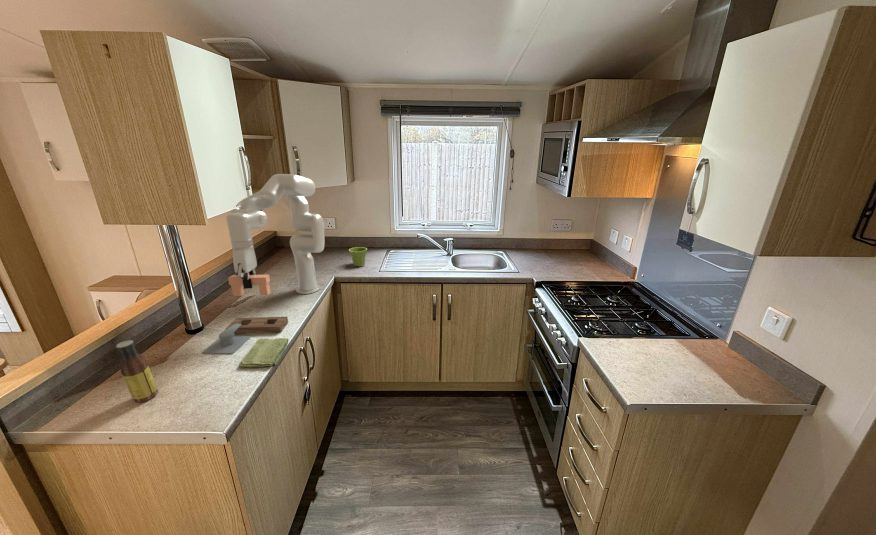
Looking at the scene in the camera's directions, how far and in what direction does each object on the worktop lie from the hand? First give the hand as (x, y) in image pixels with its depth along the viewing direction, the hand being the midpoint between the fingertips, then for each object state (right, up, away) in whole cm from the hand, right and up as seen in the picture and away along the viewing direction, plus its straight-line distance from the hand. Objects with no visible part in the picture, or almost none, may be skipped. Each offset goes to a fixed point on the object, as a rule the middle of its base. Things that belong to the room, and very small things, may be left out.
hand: (250, 285), depth 141 cm
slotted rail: (0, -19, +6) cm, 20 cm away
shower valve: (-6, -23, -5) cm, 25 cm away
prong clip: (0, -3, +1) cm, 4 cm away
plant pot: (+26, +9, +85) cm, 89 cm away
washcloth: (+13, -26, -13) cm, 32 cm away
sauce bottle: (-14, -33, -35) cm, 50 cm away
